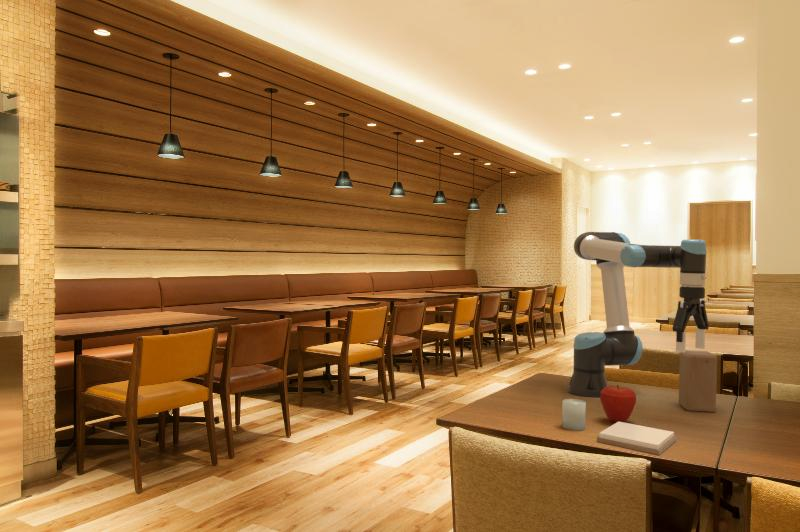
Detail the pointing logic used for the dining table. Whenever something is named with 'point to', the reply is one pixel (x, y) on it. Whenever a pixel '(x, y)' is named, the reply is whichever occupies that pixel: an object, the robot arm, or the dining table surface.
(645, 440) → the stand
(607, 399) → the apple
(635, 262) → the robot arm
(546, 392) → the dining table surface
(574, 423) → the white pillar candle
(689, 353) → the wooden block
